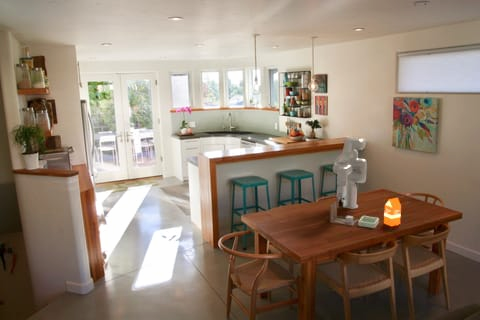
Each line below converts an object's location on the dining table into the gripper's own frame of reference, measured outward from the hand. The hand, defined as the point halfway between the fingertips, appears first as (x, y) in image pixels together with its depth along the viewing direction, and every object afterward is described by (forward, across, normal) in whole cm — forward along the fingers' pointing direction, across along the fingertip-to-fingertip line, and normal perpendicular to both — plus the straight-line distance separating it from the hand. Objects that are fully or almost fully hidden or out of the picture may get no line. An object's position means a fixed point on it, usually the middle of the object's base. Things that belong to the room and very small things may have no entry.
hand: (341, 205), depth 303 cm
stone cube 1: (0, 0, 0) cm, 0 cm away
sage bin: (+13, -3, +20) cm, 24 cm away
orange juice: (+14, -13, +35) cm, 40 cm away
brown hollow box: (+13, +1, +3) cm, 13 cm away
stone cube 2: (+13, +1, +7) cm, 14 cm away
